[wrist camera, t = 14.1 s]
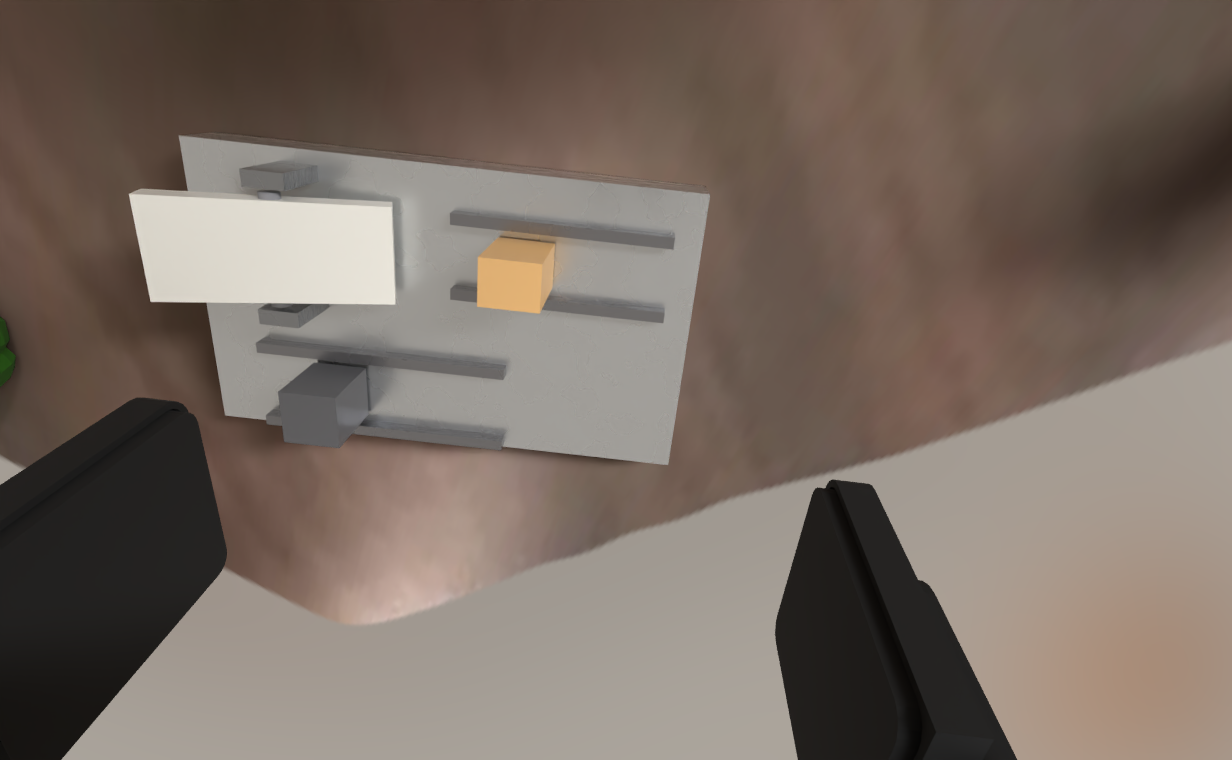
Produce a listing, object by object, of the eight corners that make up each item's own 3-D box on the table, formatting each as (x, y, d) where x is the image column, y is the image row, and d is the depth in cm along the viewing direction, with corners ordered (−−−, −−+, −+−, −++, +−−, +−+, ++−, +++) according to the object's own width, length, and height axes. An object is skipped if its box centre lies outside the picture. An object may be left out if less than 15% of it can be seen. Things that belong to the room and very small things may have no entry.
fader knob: (313, 362, 38) (277, 391, 34) (365, 368, 38) (335, 398, 34) (318, 408, 39) (284, 442, 35) (368, 414, 39) (339, 448, 35)
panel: (214, 131, 36) (128, 140, 30) (705, 186, 36) (716, 205, 30) (252, 394, 42) (187, 444, 36) (666, 440, 42) (669, 498, 36)
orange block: (497, 237, 34) (477, 256, 30) (554, 243, 34) (542, 264, 30) (496, 281, 35) (477, 306, 31) (552, 287, 35) (539, 313, 31)
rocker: (139, 181, 30) (127, 187, 29) (392, 195, 33) (391, 201, 32) (161, 298, 32) (151, 307, 31) (396, 301, 35) (395, 310, 34)
